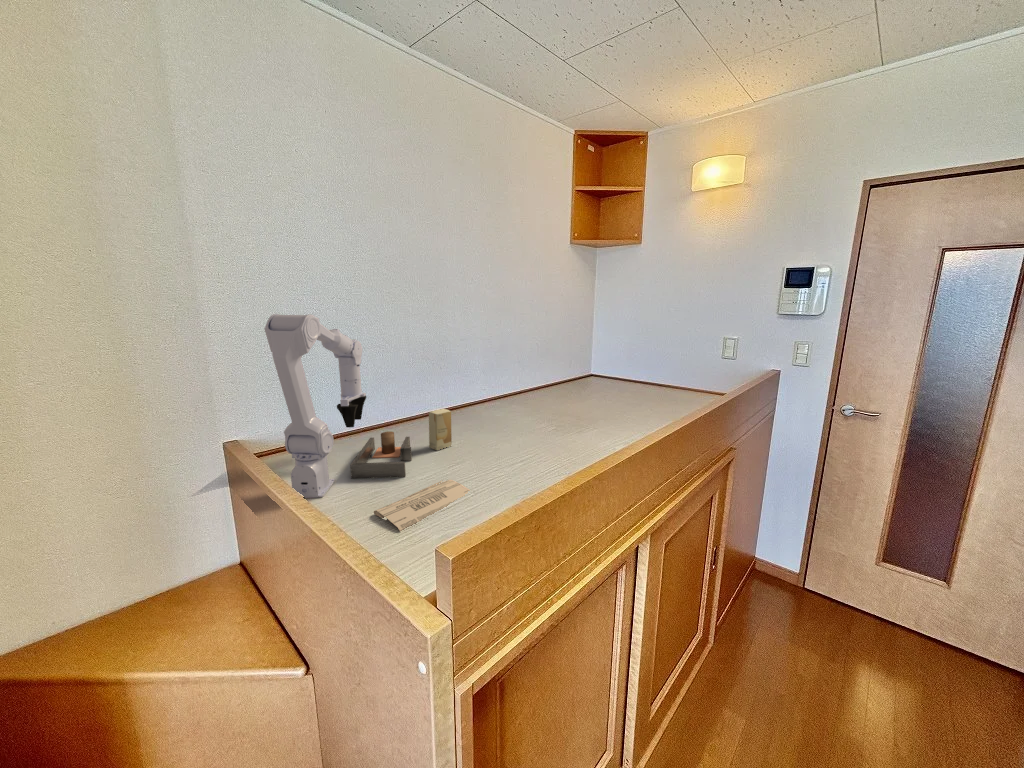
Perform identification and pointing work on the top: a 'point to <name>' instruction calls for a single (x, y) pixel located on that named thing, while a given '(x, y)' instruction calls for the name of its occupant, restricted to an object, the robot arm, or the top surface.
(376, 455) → the pad
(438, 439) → the skincare box
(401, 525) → the newspaper
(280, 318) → the robot arm
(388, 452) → the brown cylinder
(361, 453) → the rail channel
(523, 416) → the top surface
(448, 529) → the top surface
